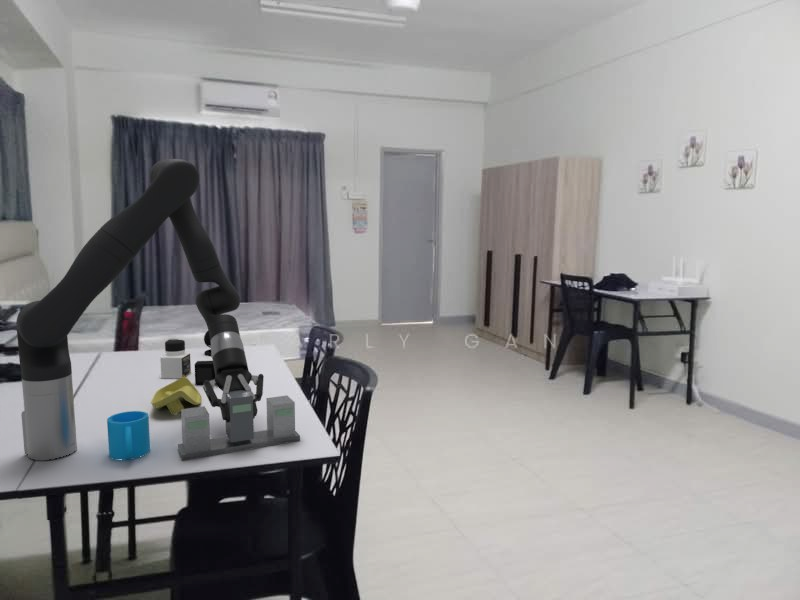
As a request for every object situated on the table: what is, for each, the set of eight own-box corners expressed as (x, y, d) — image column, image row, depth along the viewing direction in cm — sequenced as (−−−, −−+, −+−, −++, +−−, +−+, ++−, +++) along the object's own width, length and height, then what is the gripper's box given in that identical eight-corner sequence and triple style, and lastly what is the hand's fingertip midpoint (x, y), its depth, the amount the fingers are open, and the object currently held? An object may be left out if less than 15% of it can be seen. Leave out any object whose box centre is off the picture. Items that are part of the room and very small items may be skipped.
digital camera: (194, 387, 178) (193, 364, 177) (197, 382, 184) (197, 360, 183) (228, 386, 180) (228, 364, 179) (231, 381, 185) (231, 359, 184)
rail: (181, 460, 123) (179, 418, 122) (177, 449, 130) (175, 409, 128) (300, 440, 135) (299, 402, 134) (291, 430, 142) (290, 394, 140)
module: (231, 442, 128) (230, 398, 127) (225, 433, 134) (224, 391, 132) (254, 439, 131) (253, 396, 129) (247, 430, 136) (246, 388, 135)
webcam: (220, 351, 228) (219, 325, 226) (228, 354, 222) (227, 328, 221) (201, 353, 223) (200, 328, 221) (208, 357, 217) (207, 330, 216)
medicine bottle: (182, 378, 187) (181, 342, 186) (160, 378, 187) (159, 342, 186) (191, 373, 194) (189, 337, 193) (170, 372, 194) (168, 337, 193)
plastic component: (156, 391, 166) (189, 373, 168) (169, 412, 167) (201, 395, 170) (148, 406, 147) (185, 387, 150) (163, 431, 149) (199, 411, 151)
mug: (109, 449, 130) (107, 413, 128) (149, 443, 133) (147, 409, 132) (107, 470, 119) (105, 431, 118) (151, 463, 122) (149, 426, 121)
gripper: (198, 349, 133) (209, 415, 124) (261, 343, 140) (275, 406, 131) (195, 366, 138) (206, 431, 129) (256, 360, 145) (269, 422, 136)
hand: (241, 418), depth 130 cm, fingers closed on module, 5 cm apart
